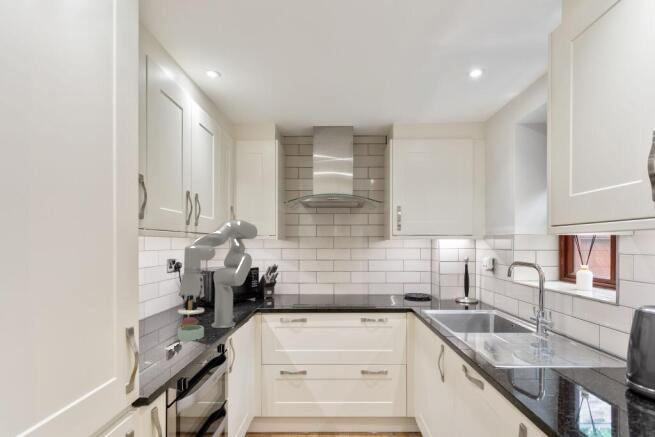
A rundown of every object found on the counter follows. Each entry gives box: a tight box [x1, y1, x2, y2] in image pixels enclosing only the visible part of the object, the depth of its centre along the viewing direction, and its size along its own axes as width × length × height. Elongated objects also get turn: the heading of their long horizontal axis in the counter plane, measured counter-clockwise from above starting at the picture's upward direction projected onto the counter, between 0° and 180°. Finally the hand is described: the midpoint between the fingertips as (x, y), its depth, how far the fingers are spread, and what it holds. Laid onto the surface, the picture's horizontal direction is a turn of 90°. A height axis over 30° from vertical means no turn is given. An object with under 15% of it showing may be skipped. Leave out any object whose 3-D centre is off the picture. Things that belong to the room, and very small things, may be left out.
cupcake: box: [180, 314, 199, 327], centre depth 186 cm, size 9×8×12 cm
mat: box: [163, 342, 180, 351], centre depth 158 cm, size 10×10×1 cm
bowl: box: [177, 324, 205, 342], centre depth 172 cm, size 11×11×5 cm
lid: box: [177, 299, 205, 315], centre depth 173 cm, size 12×12×5 cm
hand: (191, 309), depth 173 cm, fingers closed on lid, 3 cm apart
